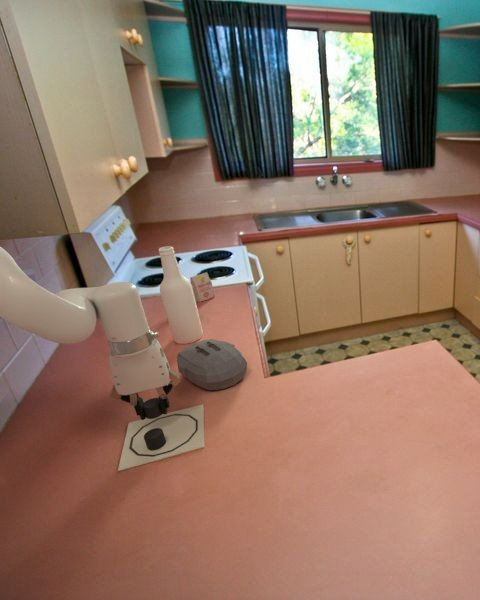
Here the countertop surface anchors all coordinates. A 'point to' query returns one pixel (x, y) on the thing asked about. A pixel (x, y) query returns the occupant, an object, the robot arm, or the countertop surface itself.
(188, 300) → the alcohol
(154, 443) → the cylinder
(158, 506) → the countertop surface
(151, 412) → the cylinder
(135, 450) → the sheet
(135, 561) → the countertop surface
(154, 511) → the countertop surface
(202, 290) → the small printed carton
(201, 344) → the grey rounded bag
